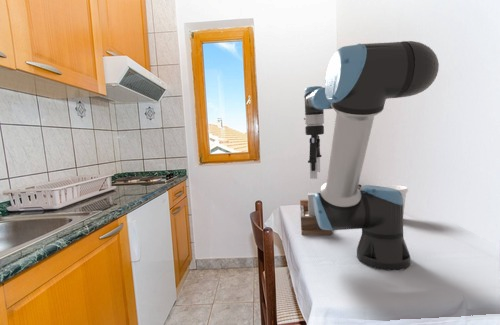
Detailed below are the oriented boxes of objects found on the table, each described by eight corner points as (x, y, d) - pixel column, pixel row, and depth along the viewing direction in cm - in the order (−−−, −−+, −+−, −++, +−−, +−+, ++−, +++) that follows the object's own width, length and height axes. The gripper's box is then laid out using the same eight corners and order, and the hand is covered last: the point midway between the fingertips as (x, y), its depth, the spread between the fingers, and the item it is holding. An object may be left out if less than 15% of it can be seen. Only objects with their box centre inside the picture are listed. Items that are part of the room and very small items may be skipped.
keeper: (325, 227, 108) (323, 195, 107) (305, 227, 110) (304, 195, 109) (323, 223, 114) (322, 192, 113) (305, 223, 115) (304, 192, 114)
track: (331, 235, 104) (330, 218, 103) (301, 234, 106) (300, 218, 106) (322, 211, 139) (322, 198, 139) (300, 211, 141) (300, 199, 141)
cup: (414, 223, 112) (413, 188, 111) (385, 224, 113) (385, 190, 112) (398, 215, 125) (398, 184, 124) (372, 216, 125) (372, 185, 124)
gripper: (309, 124, 119) (310, 169, 123) (300, 126, 96) (302, 181, 99) (325, 123, 117) (326, 169, 120) (321, 125, 94) (322, 181, 97)
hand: (315, 174), depth 110 cm, fingers open, 13 cm apart
